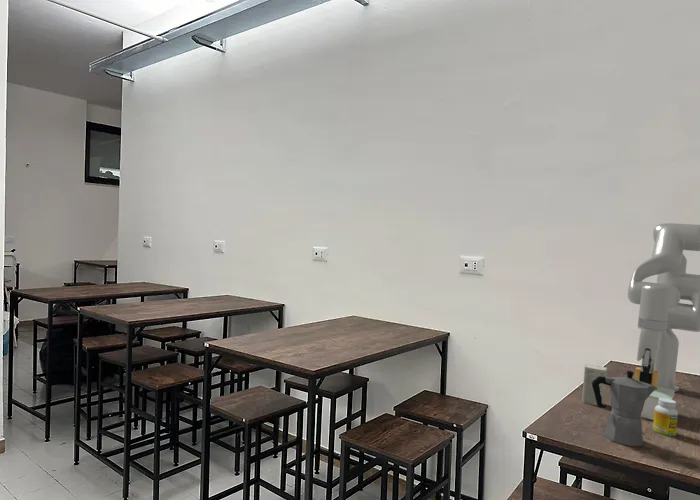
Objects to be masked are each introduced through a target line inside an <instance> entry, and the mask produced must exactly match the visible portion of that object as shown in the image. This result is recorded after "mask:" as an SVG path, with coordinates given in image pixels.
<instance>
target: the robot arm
mask: <svg viewBox="0 0 700 500" xmlns="http://www.w3.org/2000/svg"><path fill="white" fill-rule="evenodd" d="M652 231H653V232H652V236H653V241H654V242H653V243H654V246H653V250H652V253H651V257H650V258H648V259H646V260H645V261H643V262H642V263H640V264H639V265H637V267H636V268H635V269H634V270H633V272H632V274H631V277H630V281H629V285H628V288H627V298H628V300H629V301H630V302H631V303H632V304H635V305H639V310H638V311H639V312H638V321H637V328H638V329H639V330H640V332H639V338H638V340H639V341H638V348H637V355H636V360H637V361H638V362H639V361H641V367H640V368H641V371H640V379H639V381H641V382H644V383H647V384H651V383H652V374H653V373H652V370H654V371H659V377H658V386H657V387H659V388H664V389H668V390H673V391H675V392H679V391H680V387H679V386H678V385H677V384H675V383H676V382H675V381H676V373H677V364H678V353H679V347H680V345H679V344H680V342H679V339H678V337H677V335H676V334H675V332H674V331H673V330H680V331H688V332H693V333H699V332H700V274H694V273H687V270H686V269H687V262H688V259H687V258H686V256H685V255H684V251H691V252H692V251H694V252H700V224H693V223H691V224H689V223H669V222H668V223H659V224H656V225H655V227H654V228H653V230H652ZM656 275H657V277H656V282H648V281H643V280H645V279H647V278H649V277H652V276H656ZM681 300H683V301H689V302H691V303H692V304H691V303H690V304H689V303H683V302H681Z"/></svg>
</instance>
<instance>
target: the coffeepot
mask: <svg viewBox="0 0 700 500" xmlns="http://www.w3.org/2000/svg"><path fill="white" fill-rule="evenodd" d="M634 375H635V371H634V372H633V370H632V371H631V370H627V371H626V376H627V377H626V376H624V377H623V376H619V377H618V376H611V377H608V376H607V377H602V376H598V377H597V378H596V379H595V380H593V382H592V387H593V391H594V395H595V398H596V402H597V406H596V407H598V408H601V409H606V408H607V406H608V405H607V404H605V403H604V404H602V397H601V395H600V387H599V384H600V383H602V384H605V385H607V386H609V395H610V405H611V411H610V414H609V417H608V421H607V424H606V427H605V431H604V434H603V435H604V437H605V438H607V440H609V441H611V442H614V443H616V444H620V445H622V446H627V447H641V446H643V442H644V437H643V436H644V435H643V424H642V417H641V412H642V410H643V407H644V403H645V400H646V399H647V398H648V397H649V396H650V394H651V393H652V392H653V391H654V390H656V389H657V387H655V386H653V385H651V384H647V383H644V382H641V381H638V380H636V379H635V378H633V376H634Z"/></svg>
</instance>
